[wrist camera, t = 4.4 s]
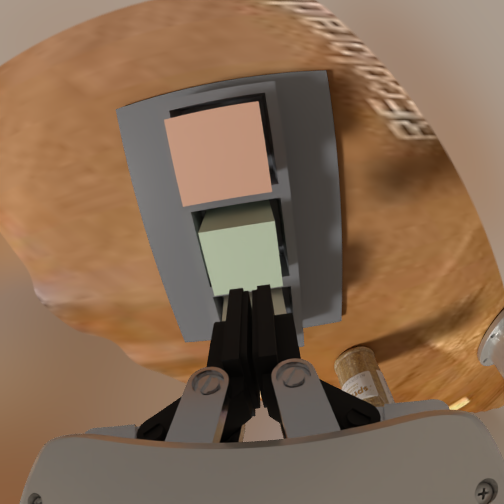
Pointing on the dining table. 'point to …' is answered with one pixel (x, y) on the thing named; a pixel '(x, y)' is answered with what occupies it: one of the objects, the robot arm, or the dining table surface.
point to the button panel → (281, 198)
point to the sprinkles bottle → (362, 376)
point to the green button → (241, 247)
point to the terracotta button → (219, 153)
